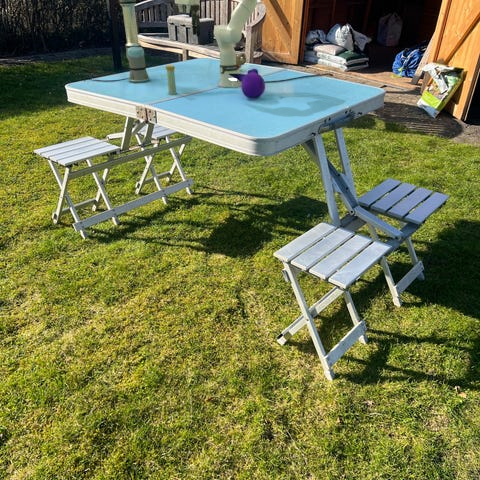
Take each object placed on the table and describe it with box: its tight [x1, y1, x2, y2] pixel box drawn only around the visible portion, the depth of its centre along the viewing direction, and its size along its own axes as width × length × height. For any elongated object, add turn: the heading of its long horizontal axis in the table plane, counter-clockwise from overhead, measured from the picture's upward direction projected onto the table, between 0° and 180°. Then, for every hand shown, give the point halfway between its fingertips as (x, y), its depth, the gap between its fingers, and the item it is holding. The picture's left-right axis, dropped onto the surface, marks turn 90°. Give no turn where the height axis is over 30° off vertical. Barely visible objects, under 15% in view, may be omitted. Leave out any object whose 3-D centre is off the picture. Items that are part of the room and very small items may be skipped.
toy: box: [229, 68, 266, 100], centre depth 284 cm, size 16×18×27 cm
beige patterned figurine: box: [236, 52, 247, 70], centre depth 365 cm, size 21×12×15 cm, turn 120°
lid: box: [165, 64, 175, 71], centre depth 292 cm, size 6×6×2 cm
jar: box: [166, 69, 177, 96], centre depth 296 cm, size 5×5×17 cm
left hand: (196, 35), depth 349 cm, fingers open, 13 cm apart
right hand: (184, 12), depth 282 cm, fingers open, 8 cm apart
